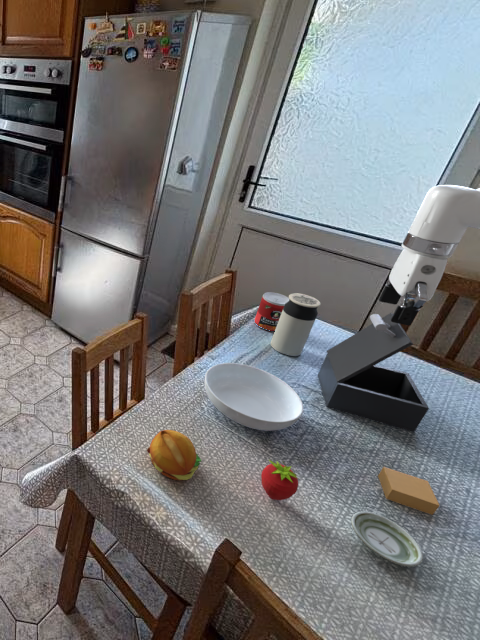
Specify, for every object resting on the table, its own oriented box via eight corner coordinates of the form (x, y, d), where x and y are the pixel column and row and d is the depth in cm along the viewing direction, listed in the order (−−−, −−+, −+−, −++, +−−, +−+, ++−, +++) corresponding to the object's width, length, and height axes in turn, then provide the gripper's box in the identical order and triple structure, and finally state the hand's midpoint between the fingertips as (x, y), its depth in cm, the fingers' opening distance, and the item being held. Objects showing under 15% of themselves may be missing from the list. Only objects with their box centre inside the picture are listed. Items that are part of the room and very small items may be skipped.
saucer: (423, 550, 76) (429, 542, 75) (409, 585, 71) (416, 578, 70) (356, 508, 83) (361, 501, 82) (339, 538, 78) (344, 530, 77)
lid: (394, 314, 104) (374, 301, 105) (413, 344, 93) (391, 329, 94) (329, 352, 114) (311, 340, 115) (339, 383, 103) (320, 370, 104)
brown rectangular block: (421, 490, 86) (428, 481, 85) (432, 515, 81) (440, 505, 80) (377, 475, 89) (383, 466, 88) (386, 499, 85) (392, 489, 83)
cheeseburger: (204, 461, 93) (211, 438, 87) (184, 500, 87) (190, 478, 82) (159, 435, 99) (163, 411, 94) (138, 470, 94) (141, 447, 88)
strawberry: (248, 497, 85) (262, 465, 81) (262, 477, 89) (276, 444, 85) (281, 520, 81) (298, 486, 77) (294, 497, 85) (311, 464, 81)
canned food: (256, 329, 138) (266, 301, 133) (251, 317, 144) (260, 290, 140) (283, 334, 135) (294, 306, 130) (277, 321, 142) (287, 294, 137)
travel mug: (302, 360, 124) (323, 309, 116) (270, 351, 127) (289, 302, 120) (299, 345, 130) (319, 297, 122) (269, 338, 134) (287, 290, 126)
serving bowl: (224, 371, 120) (230, 352, 117) (308, 418, 104) (318, 397, 101) (183, 401, 109) (188, 381, 106) (270, 458, 94) (279, 436, 91)
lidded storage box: (395, 395, 110) (408, 372, 107) (414, 432, 99) (429, 408, 96) (317, 375, 118) (327, 353, 114) (326, 407, 107) (337, 384, 104)
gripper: (472, 264, 78) (429, 337, 86) (438, 234, 92) (403, 299, 99) (418, 256, 82) (381, 326, 89) (393, 228, 95) (363, 291, 103)
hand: (393, 312), depth 94 cm, fingers open, 9 cm apart
